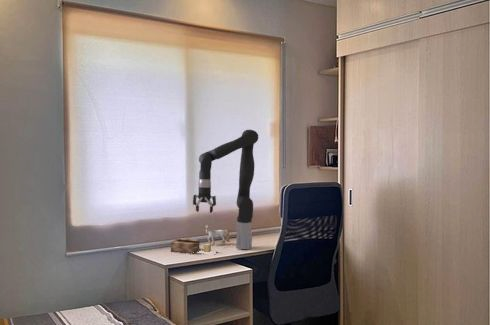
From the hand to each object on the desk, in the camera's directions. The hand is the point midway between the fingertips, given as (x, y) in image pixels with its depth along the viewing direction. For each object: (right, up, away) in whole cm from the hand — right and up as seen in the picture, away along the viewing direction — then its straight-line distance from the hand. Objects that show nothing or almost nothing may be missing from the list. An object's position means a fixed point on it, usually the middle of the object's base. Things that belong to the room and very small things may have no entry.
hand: (204, 212), depth 307 cm
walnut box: (-12, -24, -1) cm, 26 cm away
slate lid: (+2, -25, -4) cm, 25 cm away
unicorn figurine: (+7, -23, +12) cm, 27 cm away
